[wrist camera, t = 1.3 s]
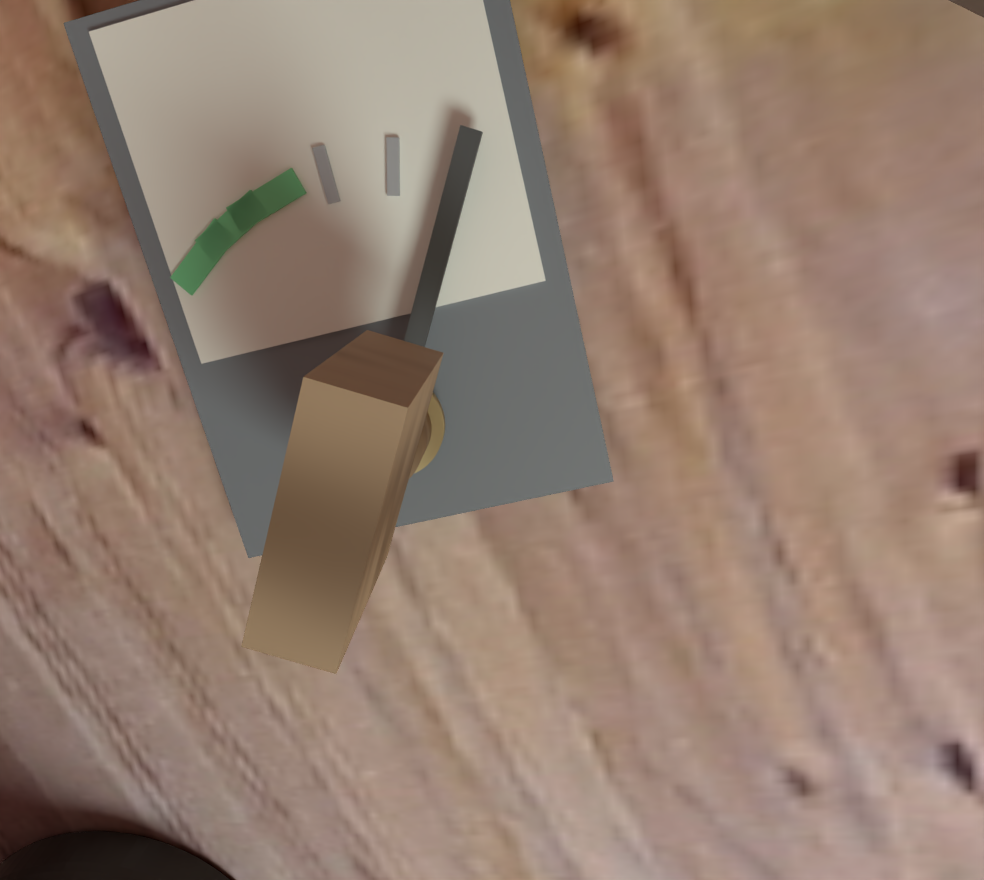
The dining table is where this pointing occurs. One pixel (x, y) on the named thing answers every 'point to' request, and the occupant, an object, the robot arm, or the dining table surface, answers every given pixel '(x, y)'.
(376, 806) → the dining table surface
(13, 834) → the dining table surface
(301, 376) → the tuner board
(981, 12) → the brown soup pot
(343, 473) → the wooden pointer lever
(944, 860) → the dining table surface
